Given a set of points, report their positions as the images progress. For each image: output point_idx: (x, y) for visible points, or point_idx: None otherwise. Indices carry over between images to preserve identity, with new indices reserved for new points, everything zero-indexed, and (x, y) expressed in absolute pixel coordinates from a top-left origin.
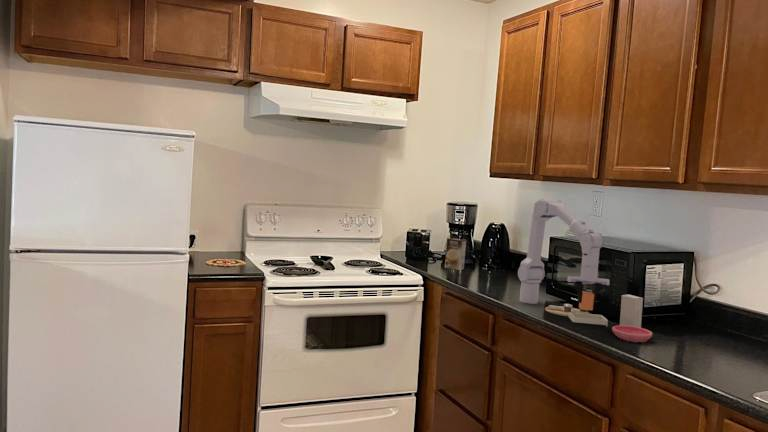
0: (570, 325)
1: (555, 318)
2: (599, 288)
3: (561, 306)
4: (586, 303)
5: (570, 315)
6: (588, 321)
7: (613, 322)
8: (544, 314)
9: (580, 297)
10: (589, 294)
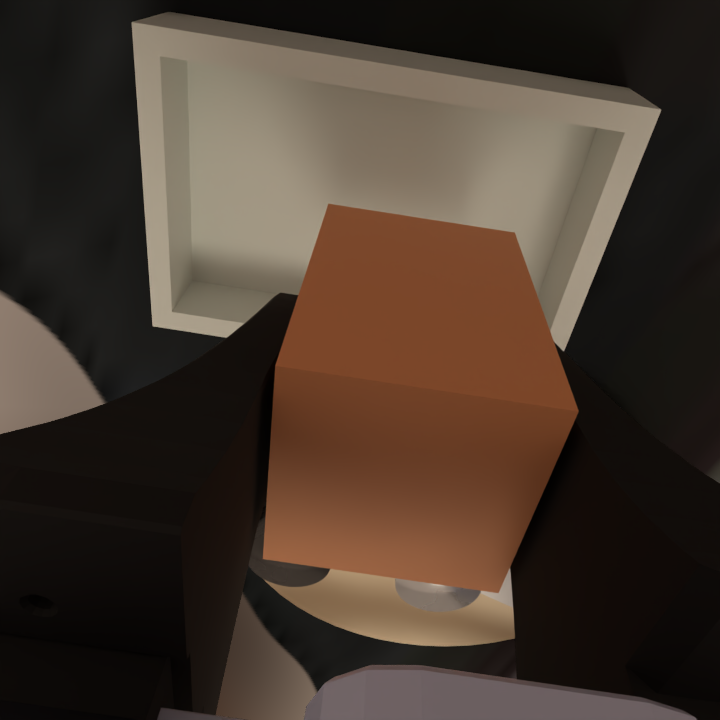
0: (713, 2)
1: (692, 333)
2: (71, 445)
3: (412, 643)
4: (443, 271)
5: (582, 286)
6: (426, 65)
7: (44, 287)
8: (714, 459)
9: (575, 376)
10: (402, 372)
